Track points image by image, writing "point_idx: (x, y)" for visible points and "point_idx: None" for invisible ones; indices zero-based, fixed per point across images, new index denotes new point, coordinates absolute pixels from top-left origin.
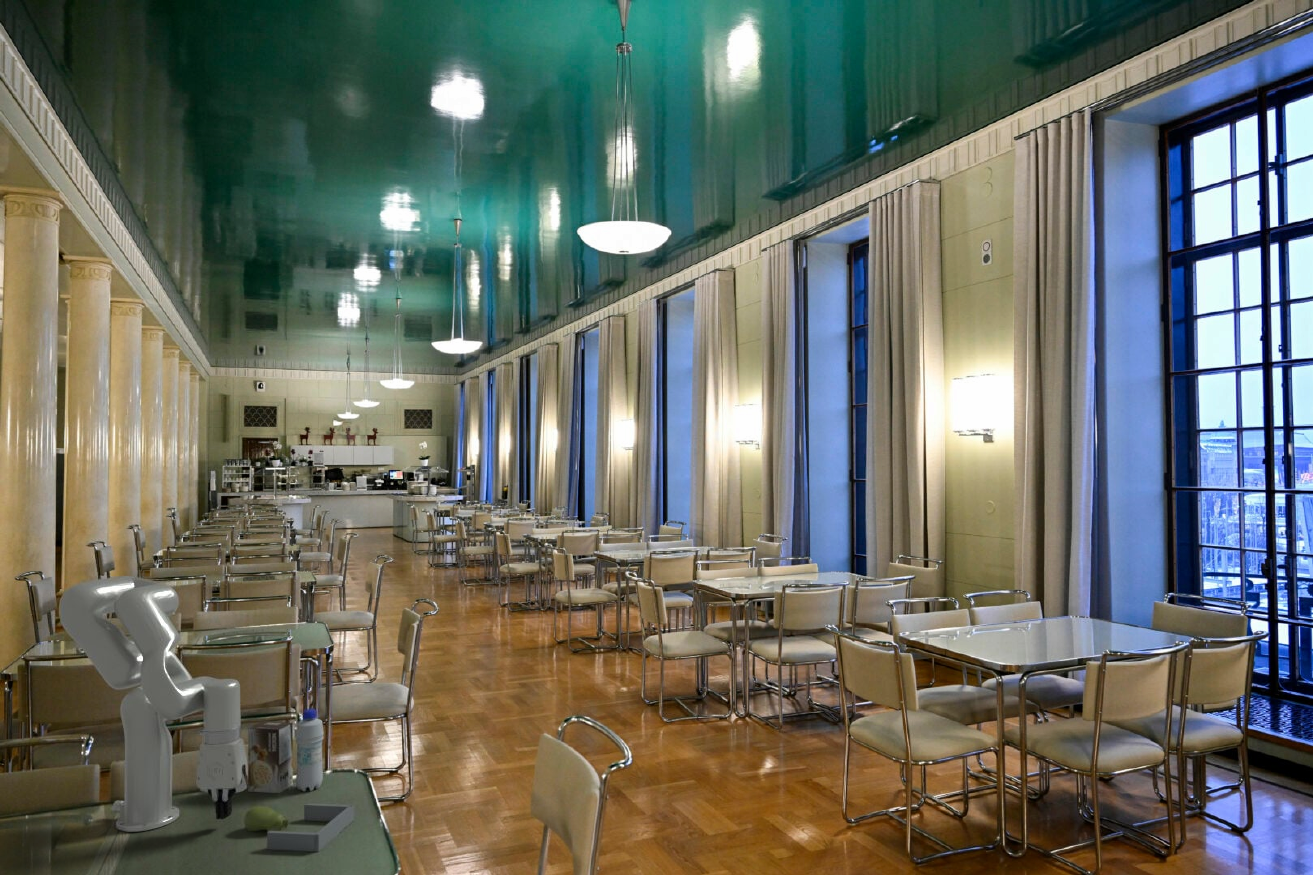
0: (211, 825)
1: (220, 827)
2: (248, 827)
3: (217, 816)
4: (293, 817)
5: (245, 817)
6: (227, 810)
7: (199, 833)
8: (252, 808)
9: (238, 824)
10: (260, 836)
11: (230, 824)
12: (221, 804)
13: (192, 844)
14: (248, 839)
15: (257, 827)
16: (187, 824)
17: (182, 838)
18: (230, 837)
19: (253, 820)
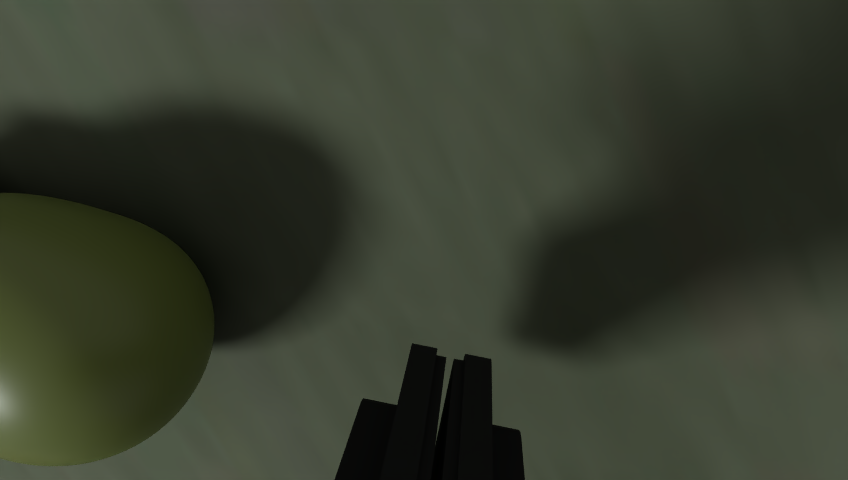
0: (591, 420)
1: None
2: (134, 222)
3: (474, 366)
4: None
5: (124, 289)
6: (359, 419)
7: (639, 269)
8: (25, 378)
9: None
10: (39, 144)
11: None
12: (399, 456)
13: (610, 2)
14: (104, 87)
15: (30, 194)
16: (829, 472)
17: (779, 169)
18: (294, 147)
19: (13, 221)
